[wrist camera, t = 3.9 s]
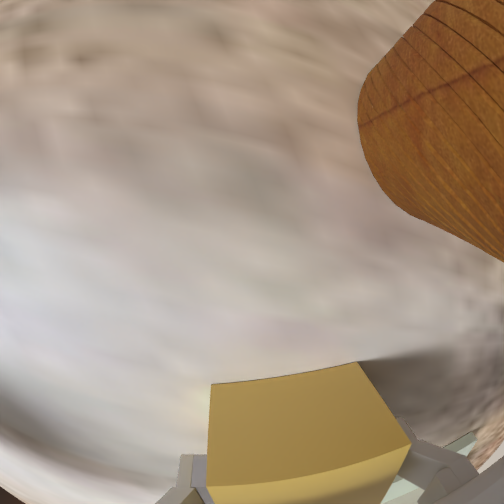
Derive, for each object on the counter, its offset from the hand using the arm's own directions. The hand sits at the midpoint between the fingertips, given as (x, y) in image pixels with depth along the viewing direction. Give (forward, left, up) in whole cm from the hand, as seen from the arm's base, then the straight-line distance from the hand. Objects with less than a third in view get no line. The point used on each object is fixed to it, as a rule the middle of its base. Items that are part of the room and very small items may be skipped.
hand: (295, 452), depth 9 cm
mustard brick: (0, 0, -2) cm, 2 cm away
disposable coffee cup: (-11, +6, -2) cm, 13 cm away
